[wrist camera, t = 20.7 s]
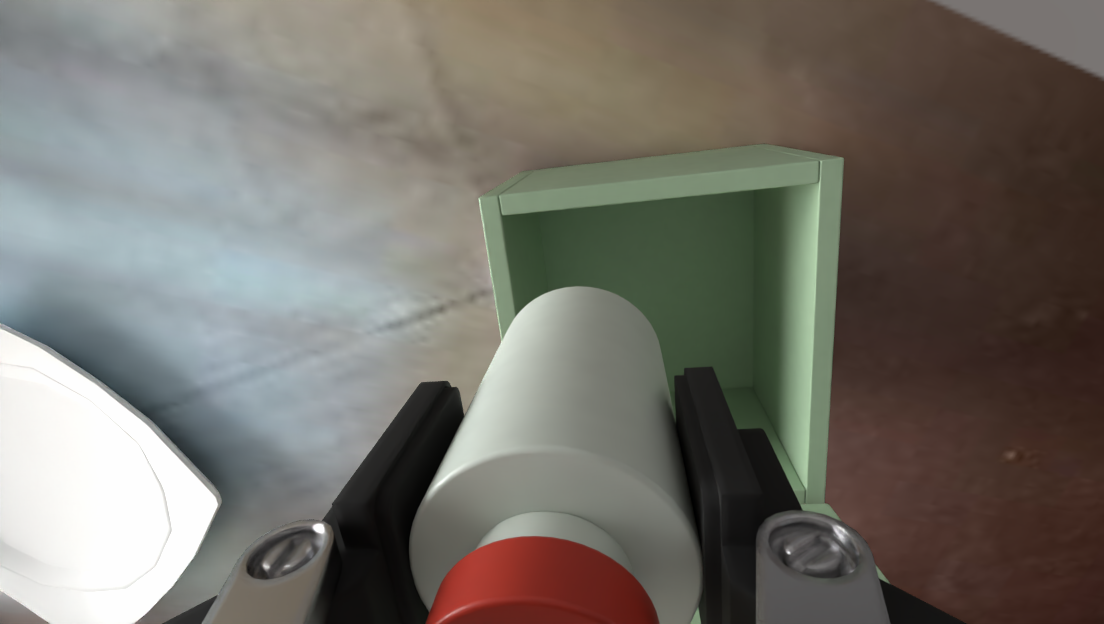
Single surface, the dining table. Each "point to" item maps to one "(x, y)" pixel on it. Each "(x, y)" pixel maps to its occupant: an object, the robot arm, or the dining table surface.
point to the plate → (89, 494)
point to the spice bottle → (563, 480)
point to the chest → (697, 272)
